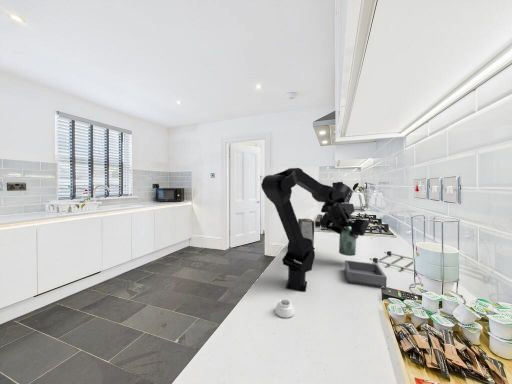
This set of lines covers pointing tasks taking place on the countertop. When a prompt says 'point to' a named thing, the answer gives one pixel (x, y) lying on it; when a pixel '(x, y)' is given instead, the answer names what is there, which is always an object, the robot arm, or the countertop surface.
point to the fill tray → (364, 274)
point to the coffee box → (307, 228)
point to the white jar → (284, 308)
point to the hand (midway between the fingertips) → (349, 235)
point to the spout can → (347, 242)
